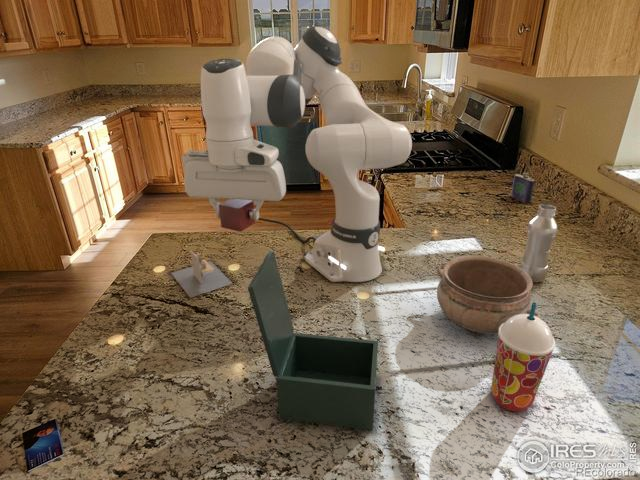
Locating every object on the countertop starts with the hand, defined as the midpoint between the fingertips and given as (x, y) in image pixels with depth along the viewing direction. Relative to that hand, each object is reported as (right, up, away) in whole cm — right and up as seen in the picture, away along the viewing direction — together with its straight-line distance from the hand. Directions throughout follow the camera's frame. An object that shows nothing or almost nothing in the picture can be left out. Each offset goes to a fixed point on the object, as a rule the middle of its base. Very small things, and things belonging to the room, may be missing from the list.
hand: (238, 217), depth 87 cm
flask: (+94, +11, +75) cm, 121 cm away
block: (0, -1, +1) cm, 2 cm away
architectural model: (-15, -15, +25) cm, 33 cm away
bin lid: (+10, -16, -19) cm, 27 cm away
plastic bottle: (+72, -15, +23) cm, 77 cm away
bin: (+19, -32, -13) cm, 39 cm away
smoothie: (+50, -33, -13) cm, 61 cm away
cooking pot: (+52, -23, +6) cm, 57 cm away
